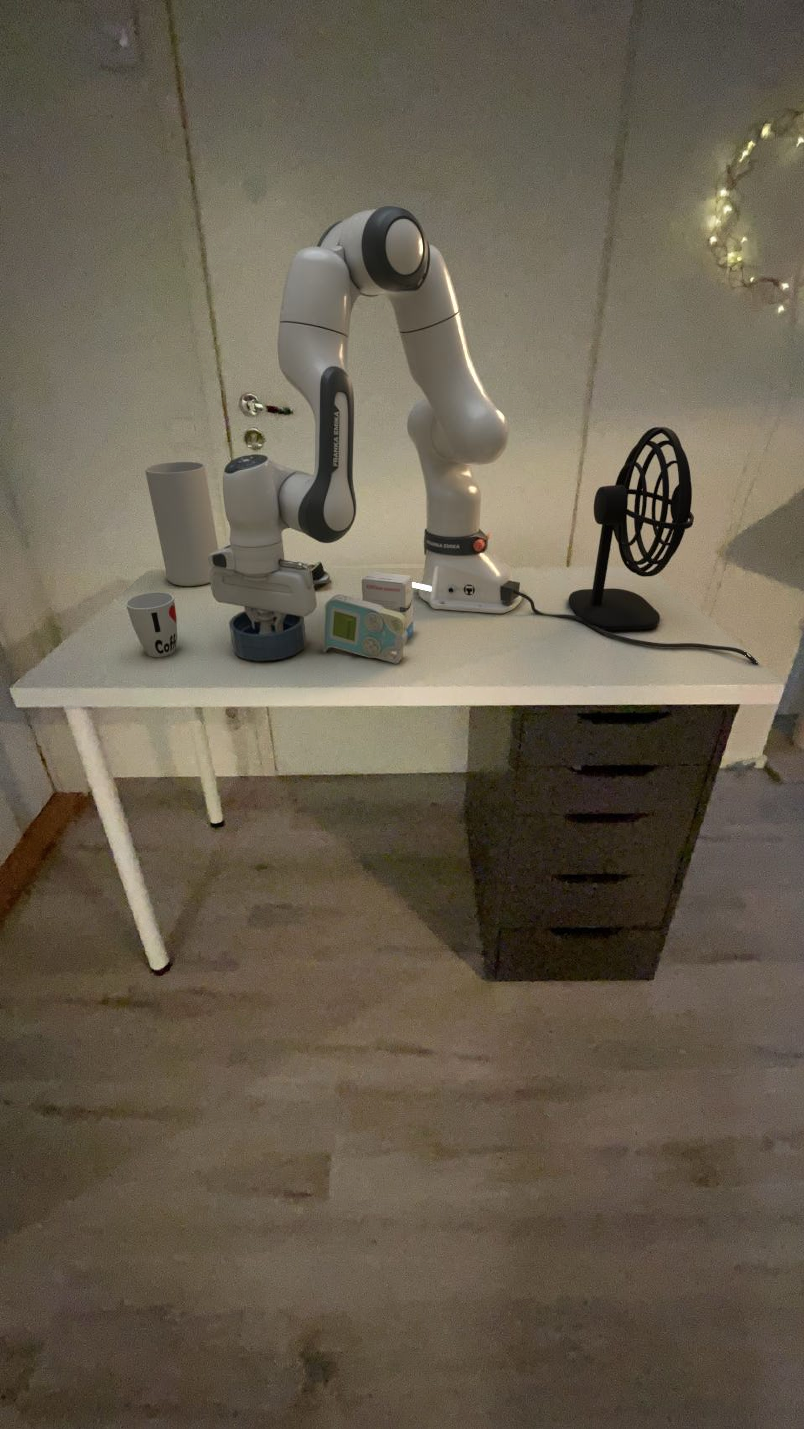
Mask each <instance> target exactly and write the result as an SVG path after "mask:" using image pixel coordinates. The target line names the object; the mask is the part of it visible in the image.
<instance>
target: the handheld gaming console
mask: <svg viewBox="0 0 804 1429" xmlns="http://www.w3.org/2000/svg"><path fill="white" fill-rule="evenodd" d="M324 608H325V609H324V623H323V624H324V625H323V641H322V642H323V643H322V652H323V653H327V652H328V651H329V650H330V649H331V648H334V649H339V650H342V651H345V652H349V653H351V654H355V655H357V656H358V655H359V656H363V657H365V658H371V659H373V658H375V659H378V660H381V661H386V662H389V663H392V664H399V663H400V661H401V660H402V658H403V657H404V648H405V645H406V643H407V642H408V640H407V635H408V633H407V631H406V627H407V620H406V618H405V616H404V615H403V614H401V613H399V612H396V611H392V610H389V609H385V608H384V607H382V606H381V605H378V604H375V603H371V602H367V601H364V600H363V599H359V598H356V597H352V596H348V595H345V594H336V595H333V596H332V597H331V598H330V599H328V600H327V602H325V607H324ZM392 652H395V653H392Z"/></svg>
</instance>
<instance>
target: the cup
mask: <svg viewBox="0 0 804 1429" xmlns="http://www.w3.org/2000/svg"><path fill="white" fill-rule="evenodd" d="M175 604H176V603H175V597H174V595H173V594H171V593H169V592H163V591H155V592H153V591H152V592H145V593H141V594H137V595H134V596H132V597H130V598H129V599H128V600H126V601H125V606H126V609H127V612H128V616H129V619H130V622H131V625H132V627H133V631H134V632H135V634H136V636H137V639H138V641H139V643H140V645H141V647H142V648H143V649H144V651H145V653H146V654H147V655H148V656H149V657H153V658H163V657H166V656H170V655H172V654H173V653H175V652H176V649H177V644H178V643H177V642H178V618H177V610H176V605H175Z"/></svg>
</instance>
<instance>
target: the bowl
mask: <svg viewBox="0 0 804 1429" xmlns="http://www.w3.org/2000/svg"><path fill="white" fill-rule="evenodd" d="M257 613H258V612H257ZM272 614H273V615H274V612H272ZM258 615H259V613H258ZM276 619H277V617H275V616H274V618H273V620H274V621H276ZM282 623H283V631H281V632H276V633H270V634H259V632H260V630H257V629H253V627H252V621H251V620H250V618H249V617H248V615H247V614H246V612H245V610H243V611H241V612H239V613H237V614H236V615H234V616H233V617H232V618H231V619H230V620H229V622H228V624H229V626H228V627H229V632H230V638H231V639H230V640H231V645H232V651H233V652H234V653H235V655H236V656H238V657H240V658H243V659H246V660H250V661H258V662H259V661H265V662H268V661H269V662H270V661H276V660H282V659H285V658H289V657H291V656H294V655H296V654H298V653H300V652H301V651H303V649H304V648H305V647H306V645H307V633H306V622H305V617H302V616H296V615H290V614H287V615H286V617H285V619H284V621H283V622H282Z"/></svg>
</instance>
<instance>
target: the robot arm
mask: <svg viewBox="0 0 804 1429" xmlns="http://www.w3.org/2000/svg"><path fill="white" fill-rule="evenodd" d="M382 294H383V295H385V297H386V298H387V299H388V300H389V303H390V304H391V306H392V308H393V312H394V316H395V321H396V325H397V329H398V333H399V336H400V341H401V344H402V348H403V352H404V355H405V359H406V363H407V366H408V370H409V373H410V376H411V379H412V380H413V381H414V383H415V384H416V385H417V386H418V387H419V388H420V390H421V391H422V392H423V395H424V396H425V398H423V399H421V400H419V401H417V402H416V403H415V404H413V407H412V408H411V409H410V411H409V414H408V416H407V422H406V426H407V427H406V429H407V435H408V436H409V440H411V442H412V444H413V445H414V447H415V449H416V453H417V456H418V459H419V464H420V467H421V468H420V469H421V472H422V476H423V482H424V488H425V498H426V499H425V500H426V502H425V504H426V505H425V506H426V508H425V509H426V510H425V511H426V512H425V513H426V528H424V536H423V553H424V566H423V573H422V579H421V582H420V583H417V582H413V581H412V588H414V589H419V590H418V596H419V597H420V598H421V599H422V600H423V601H425V602H427V603H428V604H429V605H430V607H431V608H432V609H435V610H444V611H445V610H446V611H458V612H471V613H472V612H473V613H475V612H476V613H487V614H505V613H508V612H510V611H512V610H514V609H515V608H517V607H518V605H519V604H520V603H521V601H522V599H523V598H524V599H525V600H527V601H528V602H529V603H530V607H531V611H532V612H533V613H535V614H536V615H538V616H544V617H551V618H559V619H560V618H561V619H572V620H576V621H579V622H581V623H583V624H585V625H587V626H589V627H590V628H591V629H593V630H594V631H597V632H598V633H600V634H602V635H604V636H607V637H610V638H613V639H616V640H619V641H623V642H627V643H631V644H635V645H642V646H646V647H647V646H648V647H655V648H700V649H706V650H715V651H727V652H732V653H737V654H740V655H742V656H744V657H745V658H747V659H748V660H749V661H750V662H751V663H752V664H753V665H755V666H759V662H758V661H757V660H756V658H755V657H754V656H753V655H752V654H750V653H748V652H747V651H745V650H743V649H741V648H738V647H733V646H723V645H712V644H706V643H694V642H683V643H682V642H680V643H679V642H676V643H675V642H674V643H667V642H666V643H664V642H663V643H662V642H653V641H645V640H640V639H635V638H630V637H626V636H622V635H619V634H615V633H613V632H610V631H608V630H604V629H600V628H599V627H597V626H594V625H588V624H587V623H585V622H583V621H582V619H581V618H580V617H579V616H578V615H574V614H565V613H563V614H552V613H551V614H549V613H544V612H542V611H539V610H538V609H536V606H535V601H534V600H533V598H531V597H530V596H529V595H527V594H526V593H523V591H522V590H521V588H520V586H521V582H519V581H514V580H513V575H512V570H511V568H510V567H509V566H508V565H507V564H506V563H505V562H504V561H502V559H500V558H499V557H498V556H497V555H496V554H495V553H493V552H492V551H491V550H490V549H489V548H488V546H489V539H490V532H488V533H487V534H486V533H485V532H483V531H482V530H481V528H480V522H481V501H482V493H481V489H480V486H479V485H478V483H477V481H476V480H475V477H474V475H473V472H472V468H471V466H480V465H481V466H482V465H488V464H491V463H494V462H495V461H497V460H498V459H500V457H502V455H503V453H504V452H505V450H506V448H507V447H508V443H509V438H510V428H509V423H508V419H507V418H506V416H505V415H504V414H503V412H502V411H501V410H500V409H499V408H498V407H497V406H496V405H495V404H494V402H493V401H492V399H491V398H490V396H489V394H488V392H487V390H486V388H485V386H484V385H483V382H482V380H481V378H480V376H479V374H478V371H477V369H476V367H475V365H474V362H473V360H472V357H471V353H470V349H469V347H468V342H467V337H466V332H465V329H464V324H463V320H462V314H461V310H460V306H459V301H458V298H457V294H456V290H455V288H454V283H453V280H452V277H451V274H450V272H449V269H448V267H447V263H446V261H445V259H444V256H443V255H442V253H441V251H440V250H439V249H438V248H437V247H436V246H435V245H433V244H430V243H429V241H428V240H427V236H426V233H425V232H424V228H423V227H422V225H421V223H420V222H419V220H418V219H417V217H416V216H415V215H414V214H413V213H412V212H411V211H409V210H407V209H405V208H403V207H399V206H393V205H385V206H381V207H378V208H373V209H367V210H363V211H359V212H356V213H354V214H352V215H351V216H350V217H348V218H346V219H344V220H339V221H336V222H335V223H332V225H330V226H329V227H328V228H327V229H326V230H325V231H324V233H323V234H322V235H321V237H320V238H319V241H318V242H317V245H316V246H308V247H307V246H306V247H305V248H304V247H303V248H301V249H300V250H298V251H297V252H296V253H295V254H294V255H293V257H291V261H290V264H289V267H288V270H287V274H286V278H285V283H284V287H283V292H282V298H281V299H282V300H281V306H280V312H279V322H278V323H279V324H278V332H277V357H278V358H277V360H278V365H279V368H280V371H281V373H282V375H283V376H284V378H285V379H286V381H287V382H288V383H289V385H290V386H292V387H293V388H294V390H296V391H297V392H298V393H299V394H301V396H302V397H303V398H304V400H305V401H306V402H307V404H308V405H309V406H310V408H311V412H312V414H313V417H314V424H315V425H314V426H315V429H314V432H315V434H314V472H313V474H311V473H309V472H305V471H301V470H297V469H294V468H290V467H287V466H284V465H281V464H279V463H277V462H275V461H273V460H271V459H270V457H268V456H267V455H264V454H256V453H255V454H253V453H252V454H247V455H242V456H240V457H236V458H234V459H232V460H230V461H229V462H228V463H227V464H226V465H225V467H224V469H223V473H222V495H223V496H222V497H223V506H224V512H225V517H226V518H225V519H226V520H227V522H228V525H229V528H230V529H229V530H230V534H229V545H225V546H224V547H221V548H218V550H217V551H215V552H213V553H211V554H210V555H208V561H209V564H210V565H211V566H213V567H212V568H211V569H210V583H209V584H210V589H211V594H212V597H213V598H214V600H215V601H216V602H217V603H222V604H227V605H232V606H238V607H243V608H244V611H245V612H246V614H247V615H248V617H249V618H250V620H251V621H252V627H253V629H257V630H260V619H259V618H258V617H259V615H258V613H257V611H256V609H261V610H267V611H273V612H274V616H275V617H277V619H276V621H274V623H271V624H270V625H271V632H273V633H276V632H281V631H283V623H282V622H283V621H284V619H285V617H286V615H287V614H290V615H296V616H302V617H304V618H305V617H308V616H309V615H311V614H312V613H313V612H314V611H315V610H316V609H317V606H318V603H317V596H316V591H315V590H316V589H314V586H313V580H312V572H311V570H309V568H308V567H306V566H305V565H304V564H303V563H304V562H300V561H291V560H287V559H285V550H284V541H283V531H284V530H286V529H287V530H288V529H291V530H295V531H297V532H299V533H302V534H305V535H306V536H308V537H309V538H311V539H314V540H315V541H317V542H318V543H322V544H332V543H335V542H337V541H339V540H341V539H342V538H343V537H345V535H347V533H348V532H349V531H350V530H351V528H352V526H353V525H354V522H355V520H356V515H357V498H356V492H355V486H354V476H353V473H354V472H353V470H354V439H355V438H354V437H355V436H354V434H355V395H354V387H353V383H352V380H351V379H350V374H349V368H348V349H349V348H348V346H349V337H350V329H351V315H352V312H353V308H354V305H355V303H356V301H357V300H358V298H375V297H378V296H381V295H382ZM303 568H305V569H303ZM744 651H745V652H744ZM747 653H748V654H749V655H750V656H751V657H749V656H748V655H747ZM745 655H746V656H745ZM756 662H757V663H756Z"/></svg>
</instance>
